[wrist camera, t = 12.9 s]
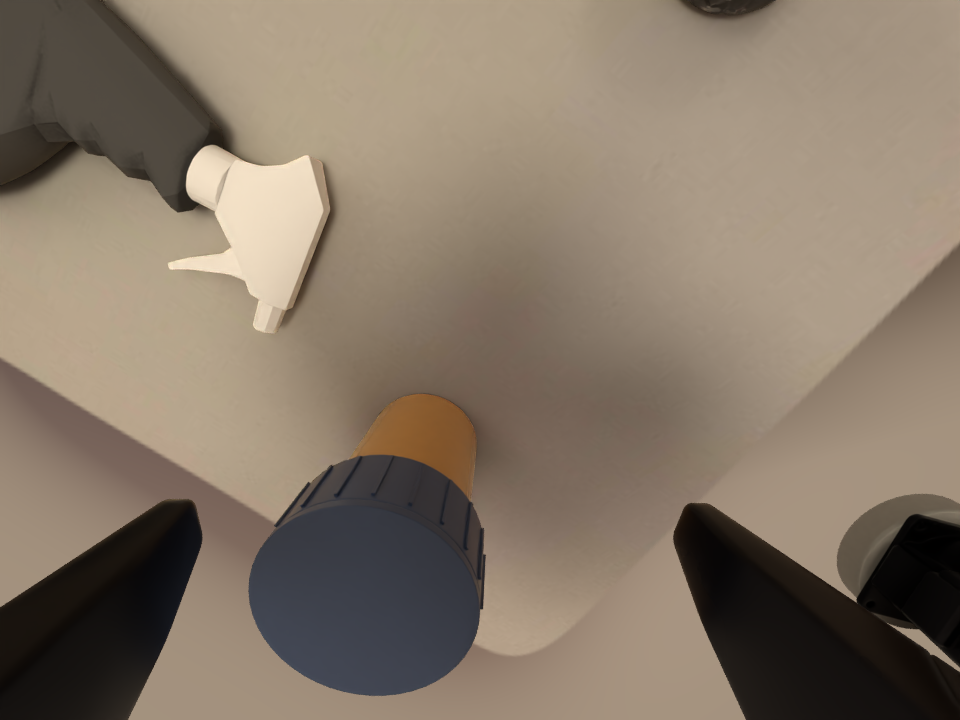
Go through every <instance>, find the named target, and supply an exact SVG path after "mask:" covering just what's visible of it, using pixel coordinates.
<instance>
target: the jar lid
mask: <svg viewBox="0 0 960 720" xmlns="http://www.w3.org/2000/svg"><path fill="white" fill-rule="evenodd" d="M274 526H275V527H276V528H275V530H274V531H273V532H272V534H271V535H270V537H268V539H267V540H266V541H265V543H264V544H263V546H262V547H261V548H260V550H259V552H258V554H257V556H256V558H255V561H254V563H253V565H252V569H251V573H250V578H249V601H250V606H251V610H252V614H253V617H254V620H255V622H256V624H257V627H258V629H259V631H260V632H261V634H262V636H263V638H264V639H265V640H266V642H267V643H268V644H269V646H270V647H271V648H272V649H273V651H275V653H276V654H277V655H278V656H279V657H280V658H281V659H282V660H283V661H285V662H286V663H287V664H288V665H289V666H291V667H292V668H293V669H295V670H296V671H298V672H299V673H301V674H302V675H304V676H306V677H307V678H309V679H311V680H313V681H315V682H317V683H320V684H322V685H325V686H327V687H329V688H333V689H336V690H340V691H343V692H348V693H353V694H359V695H369V696H386V695H396V694H402V693H406V692H411V691H414V690H417V689H420V688H423V687H426V686H428V685H430V684H432V683H434V682H436V681H437V680H439V679H441V678H442V677H444V676H445V675H447V674H448V673H449V672H450V671H451V670H453V669H454V668H455V667H456V666H457V665H458V664H459V663H460V661H461V660H462V659H463V658H464V657H465V655H466V654H467V652H468V651H469V649H470V647H471V646H472V643H473V641H474V639H475V637H476V634H477V630H478V626H479V618H480V609H483V599H484V577H485V556H486V555H484V554H483V549H484V528H481V523H480V520H479V518H478V515H477V513H476V511H475V509H474V507H473V503H472V502H470V500H469V499H468V498H467V496H466V495H465V494H464V492H463V491H462V490H461V489H460V488H459V487H458V486H457V485H456V484H455V483H454V482H453V481H452V480H451V479H449V478H448V477H446V476H445V475H444V474H442V473H441V472H439V471H437V470H436V469H434V468H432V467H430V466H428V465H426V464H424V463H422V462H419V461H416V460H412V459H409V458H405V457H400V456H394V455H367V456H358V457H355V458H352V459H349V460H345V461H343V462H340V463H338V464H336V465H334V466H332V465H330V466H329V467H328V468H327V470H325V471H324V472H322V473H321V474H320V475H319V476H318V477H316V478H315V479H314V480H313V481H312V482H311V483H309V482H308V483H307V484H306V486H305V487H304V488H303V489H302V491H301V492H300V493H299V494H298V496H297V497H296V498H295V500H294V501H293V502H292V503H291V505H290V506H289V507H288V509H287V510H286V511H285V512H284V514H283V515H282V516H281V517H280V519H279V520H278V521H277V523H276V524H275V525H274Z"/></svg>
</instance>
